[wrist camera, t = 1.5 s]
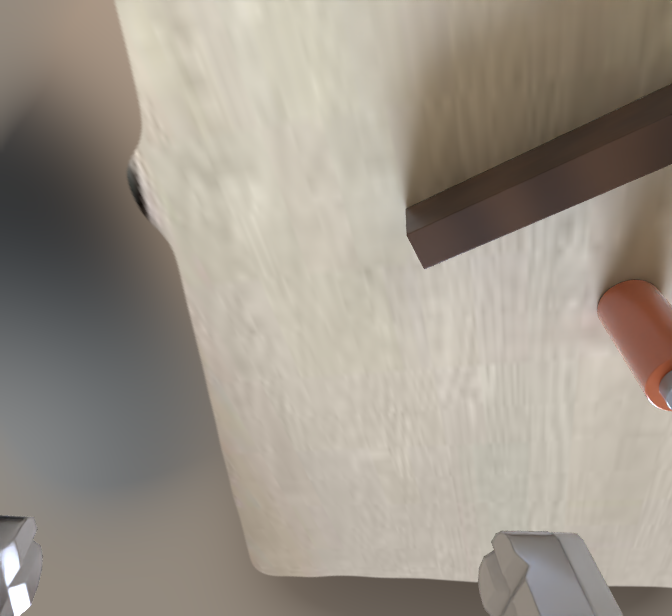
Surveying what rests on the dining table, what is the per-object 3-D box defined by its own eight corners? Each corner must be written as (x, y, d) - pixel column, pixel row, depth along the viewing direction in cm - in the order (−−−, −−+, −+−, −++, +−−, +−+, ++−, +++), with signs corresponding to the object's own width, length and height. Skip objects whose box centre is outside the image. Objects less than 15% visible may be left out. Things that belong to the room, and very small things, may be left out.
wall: (688, 75, 35) (729, 87, 30) (698, 118, 36) (738, 136, 32) (405, 208, 41) (406, 234, 37) (421, 241, 42) (424, 269, 38)
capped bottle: (653, 269, 42) (729, 354, 32) (667, 317, 44) (743, 410, 34) (589, 293, 43) (644, 380, 34) (606, 338, 45) (662, 433, 36)
